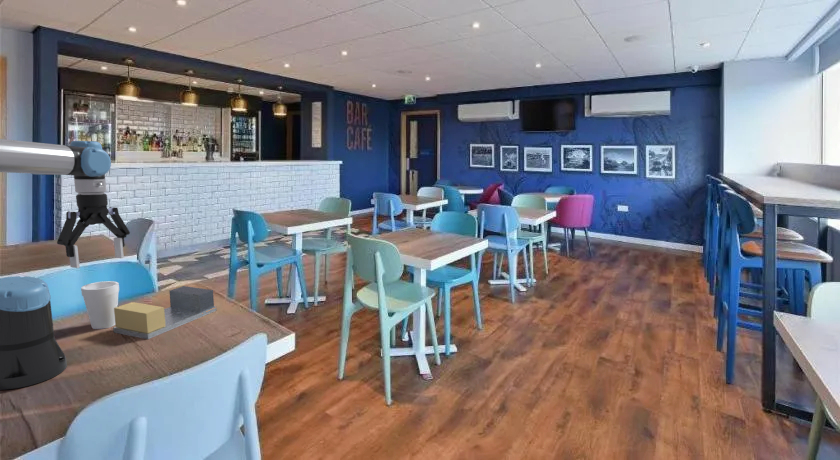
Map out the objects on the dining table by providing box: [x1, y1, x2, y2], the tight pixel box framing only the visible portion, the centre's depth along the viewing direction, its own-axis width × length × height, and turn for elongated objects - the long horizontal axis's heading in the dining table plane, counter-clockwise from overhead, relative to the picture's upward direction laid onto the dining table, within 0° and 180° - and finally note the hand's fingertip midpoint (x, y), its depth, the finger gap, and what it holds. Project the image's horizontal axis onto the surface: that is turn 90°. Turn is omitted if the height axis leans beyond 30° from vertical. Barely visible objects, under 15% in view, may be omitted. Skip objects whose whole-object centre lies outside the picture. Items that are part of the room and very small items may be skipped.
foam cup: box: [80, 280, 120, 330], centre depth 138 cm, size 10×9×13 cm
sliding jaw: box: [114, 301, 166, 333], centre depth 134 cm, size 6×13×6 cm, turn 71°
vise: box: [112, 285, 217, 340], centre depth 143 cm, size 26×14×8 cm, turn 161°
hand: (98, 262), depth 136 cm, fingers open, 13 cm apart
